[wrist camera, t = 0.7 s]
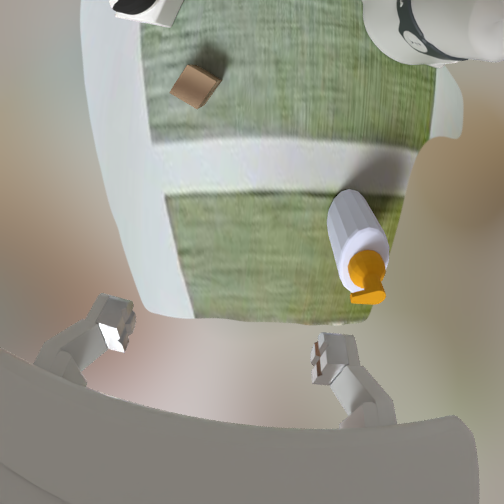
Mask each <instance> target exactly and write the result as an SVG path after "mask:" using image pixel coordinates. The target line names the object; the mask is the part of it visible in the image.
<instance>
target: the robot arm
mask: <svg viewBox="0 0 504 504" xmlns="http://www.w3.org/2000/svg"><path fill="white" fill-rule="evenodd" d="M362 2H363V20H364V24H365V28H366V30H367V32H368V34H369V36H370V38H371V40H372V41H373V42H374V44H375V45H376V46H377V47H378V48H379V49H380V50H381V51H382V52H383V53H384V54H386V55H387V56H388V57H390V58H392V59H394V60H396V61H398V62H401V63H404V64H409V65H418V64H427V65H429V66H432V67H435V68H442V67H443V66H444V65H445V64H446V63H457V62H458V61H464V60H468V59H474V60H482V61H488V62H500V61H504V0H362ZM133 306H134V305H133V302H132V301H130V300H126V299H122V298H119V297H115V296H111V295H108V294H104V293H101V294H100V295H99V296H98V297H97V299H96V301H95V302H94V304H93V306H92V308H91V310H90V312H89V313H88V315H87V317H86V319H85V320H84V319H82V320H80V321H78V322H77V323H75V324H74V325H72V326H70V327H68V328H67V329H65V330H64V331H62V332H60V333H59V334H57V335H55V336H54V337H52V338H51V339H49V340H47V341H46V342H44V344H43V346H42V348H41V350H40V352H39V354H38V356H37V358H36V360H35V362H34V364H31V363H29V362H27V361H25V360H23V359H21V358H20V357H18V356H16V355H14V354H12V353H10V352H8V351H7V350H5V349H3V348H1V347H0V504H479V468H478V459H477V451H476V445H475V440H474V436H473V434H472V432H471V430H470V429H469V428H468V427H467V426H466V425H465V424H464V423H463V421H462V420H461V419H459V418H458V417H457V416H455V415H452V416H445V417H441V418H435V419H430V420H424V421H418V422H411V423H404V424H397V421H396V415H395V409H394V404H393V400H392V399H391V398H390V397H389V395H388V394H387V393H386V392H385V391H384V390H383V388H382V387H381V386H380V385H379V384H378V382H377V381H376V380H375V379H374V378H373V377H372V375H371V374H370V373H369V372H368V371H367V370H366V369H365V367H364V366H360V361H359V356H358V351H357V346H356V341H355V337H354V336H353V335H344V334H335V333H324V332H322V333H320V334H319V336H318V341H317V342H316V343H314V345H313V347H312V350H311V363H312V365H313V366H314V368H313V370H312V372H311V373H312V384H320V385H330V387H331V389H332V391H333V392H334V394H335V395H336V397H337V398H338V400H339V402H340V403H341V405H342V406H343V408H344V410H345V411H346V413H347V414H348V417H347V418H346V419H344V420H343V421H342V422H341V423H340V424H339V429H296V428H278V427H277V428H276V427H263V426H253V425H243V424H235V423H228V422H221V421H215V420H209V419H203V418H197V417H191V416H187V415H182V414H177V413H173V412H168V411H163V410H160V409H155V408H152V407H148V406H144V405H140V404H137V403H133V402H130V401H126V400H123V399H120V398H116V397H114V396H110V395H107V394H104V393H101V392H98V391H96V390H93V389H90V388H87V387H86V385H87V380H86V379H85V377H84V376H83V374H82V373H81V371H83V370H84V369H85V368H86V367H87V366H89V365H90V364H91V363H92V362H93V361H94V360H96V359H97V358H98V357H99V356H101V355H102V354H103V353H104V352H105V351H107V350H108V349H112V350H116V351H120V352H125V350H126V348H127V345H128V343H129V338H128V336H129V335H130V334H132V333H133V330H134V328H135V323H136V315H135V313H134V312H133V310H132V309H133Z"/></svg>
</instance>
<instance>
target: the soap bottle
mask: <svg viewBox="0 0 504 504" xmlns="http://www.w3.org/2000/svg"><path fill="white" fill-rule="evenodd" d="M327 228H328V235H329V238H330V242H331V246H332V249H333V253H334V257H335V261H336V265H337V268H338V272H339V276H340V279H341V281H342V283H343V285H344V287H346V288H347V289H348V290H349V291H351V292H352V293H351V295H350V299H351V303H357V304H379V303H381V302H382V301H383V300H384V299H385V297H386V294H385V291H384V289H383V286H382V283H381V281H382V280H383V278H384V276H385V272H386V267H387V264H388V261H389V245H388V241H387V238H386V235H385V233H384V231H383V229H382V228H381V226H380V224H379V222H378V220H377V219H376V217H375V215H374V213H373V212H372V210H371V208H370V207H369V205H368V203H367V202H366V200H365V198H364V197H363V196H362V195H361V194H360V193H359V192H358V191H355V190H352V189H347V190H344V191H341V192H340V193H339V194H338V195H337V196H336V197H335V198H334V199H333V202H332V204H331V206H330V208H329V211H328V218H327Z"/></svg>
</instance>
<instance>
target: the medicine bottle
mask: <svg viewBox="0 0 504 504" xmlns="http://www.w3.org/2000/svg"><path fill="white" fill-rule="evenodd" d="M183 1H184V0H109V2H110V6H111V7H112V9H113V10H115V11H116V14H115V17H117V18H122V19H127V20H131V21H136V22H142V23H148V24H154V25H159V26H164V27H168V28H170V27H171V26H172V24H173V22H174V20H175V18H176V15H177V13H178V11H179V9H180V7H181V5H182V3H183Z"/></svg>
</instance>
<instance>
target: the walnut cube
mask: <svg viewBox="0 0 504 504" xmlns="http://www.w3.org/2000/svg"><path fill="white" fill-rule="evenodd" d="M221 81H222V80H221V79H219V78H218V77H216V76H214V75H213V74H211V73H209V72H208V71H206V70H204V69H203V68H201V67H199V66H197V65H187V66H186V68H185V69H184V71H183V72H182V74H181V75H180V77H179V78H178V80H177V81H176V83H175V84H174V86H173V88H172V89H171V91H170V92H169V93H171V94H172V95H174V96H176V97H178V98H179V99H181V100H183V101H184V102H186V103H188V104H189V105H191V106H193V107H194V108H196V109H198V108H200V107H202V106H204V105H205V104H206V102H207V101H208V99H209V98H210V97H211V95H212V94H213V92H214V91H215V89H216V88H217V87H218V85H219V84H220V83H221Z"/></svg>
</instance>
